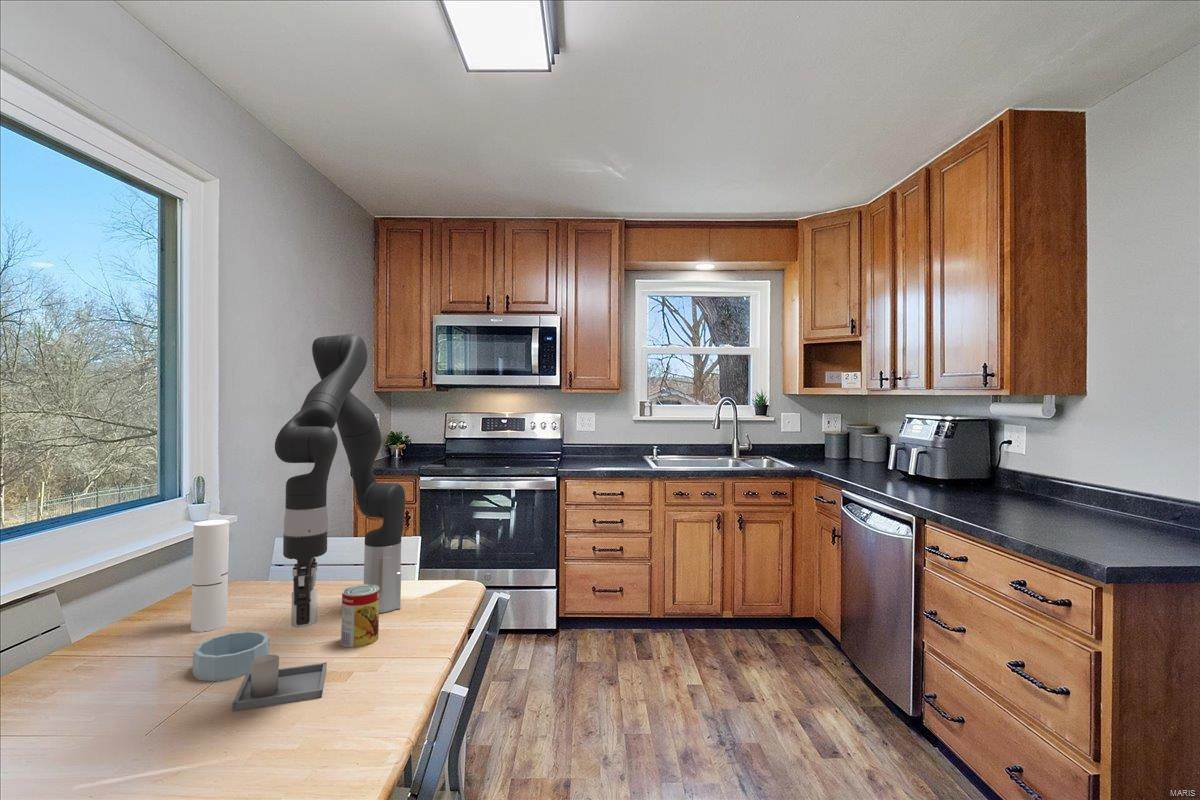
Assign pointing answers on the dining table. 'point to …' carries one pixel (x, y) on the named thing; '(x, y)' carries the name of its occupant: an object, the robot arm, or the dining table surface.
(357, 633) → the canned food
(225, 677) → the bowl
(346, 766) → the dining table surface
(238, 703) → the tray
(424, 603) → the dining table surface
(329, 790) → the dining table surface
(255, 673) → the white cylinder
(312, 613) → the white glass cylinder
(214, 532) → the cylindrical container
